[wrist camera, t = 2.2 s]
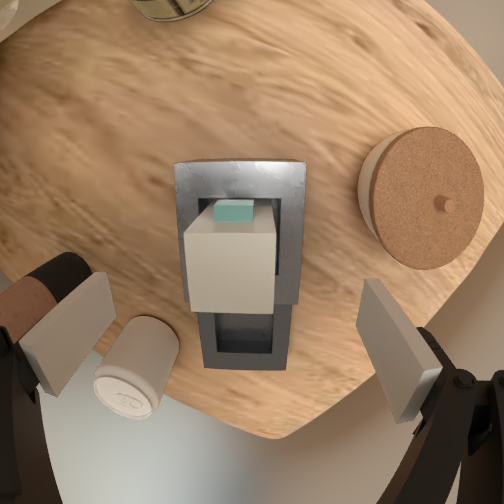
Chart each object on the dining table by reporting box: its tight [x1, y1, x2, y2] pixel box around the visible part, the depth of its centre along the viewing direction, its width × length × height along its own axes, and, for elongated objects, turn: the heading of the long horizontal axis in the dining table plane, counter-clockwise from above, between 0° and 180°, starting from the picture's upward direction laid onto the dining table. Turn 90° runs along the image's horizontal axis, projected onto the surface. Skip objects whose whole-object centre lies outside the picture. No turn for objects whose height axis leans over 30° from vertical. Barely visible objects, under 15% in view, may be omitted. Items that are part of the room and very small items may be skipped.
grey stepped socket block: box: [174, 158, 306, 370], centre depth 28 cm, size 10×24×8 cm, turn 0°
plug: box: [184, 198, 276, 314], centre depth 21 cm, size 5×6×11 cm
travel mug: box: [0, 252, 92, 344], centre depth 24 cm, size 8×8×20 cm
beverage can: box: [93, 316, 179, 419], centre depth 31 cm, size 8×8×12 cm
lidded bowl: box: [358, 127, 484, 270], centre depth 23 cm, size 13×13×11 cm
